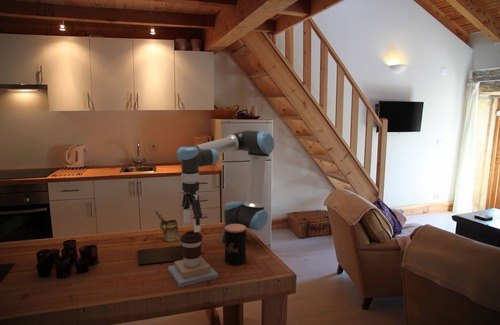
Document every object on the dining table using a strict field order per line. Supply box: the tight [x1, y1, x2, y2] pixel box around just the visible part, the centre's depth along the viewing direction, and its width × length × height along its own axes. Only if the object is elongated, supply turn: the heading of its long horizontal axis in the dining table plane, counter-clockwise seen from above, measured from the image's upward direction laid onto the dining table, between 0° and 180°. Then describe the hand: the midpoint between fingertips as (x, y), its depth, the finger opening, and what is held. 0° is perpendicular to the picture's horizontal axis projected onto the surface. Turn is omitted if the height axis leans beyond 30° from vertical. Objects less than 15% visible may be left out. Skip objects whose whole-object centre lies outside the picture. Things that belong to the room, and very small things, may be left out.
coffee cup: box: [180, 230, 203, 267], centre depth 161 cm, size 10×10×15 cm
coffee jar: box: [224, 224, 247, 266], centre depth 176 cm, size 11×11×18 cm
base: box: [167, 256, 219, 288], centre depth 162 cm, size 18×18×5 cm
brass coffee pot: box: [155, 210, 181, 243], centre depth 203 cm, size 9×14×18 cm, turn 103°
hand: (192, 226), depth 159 cm, fingers open, 13 cm apart
